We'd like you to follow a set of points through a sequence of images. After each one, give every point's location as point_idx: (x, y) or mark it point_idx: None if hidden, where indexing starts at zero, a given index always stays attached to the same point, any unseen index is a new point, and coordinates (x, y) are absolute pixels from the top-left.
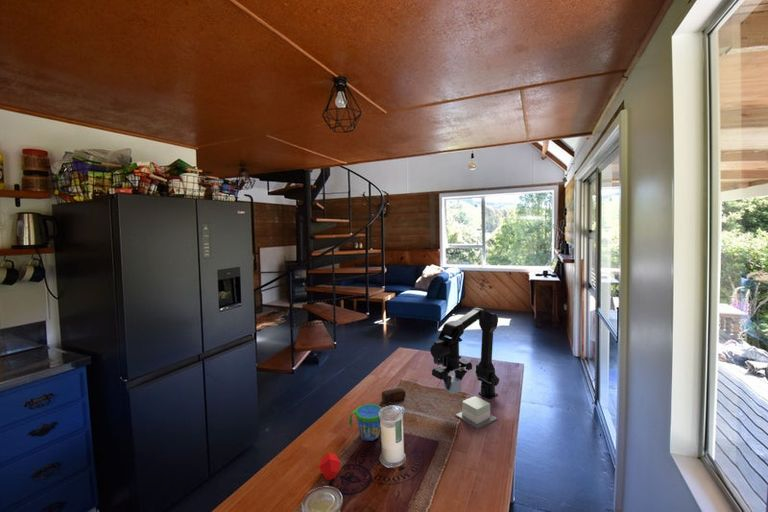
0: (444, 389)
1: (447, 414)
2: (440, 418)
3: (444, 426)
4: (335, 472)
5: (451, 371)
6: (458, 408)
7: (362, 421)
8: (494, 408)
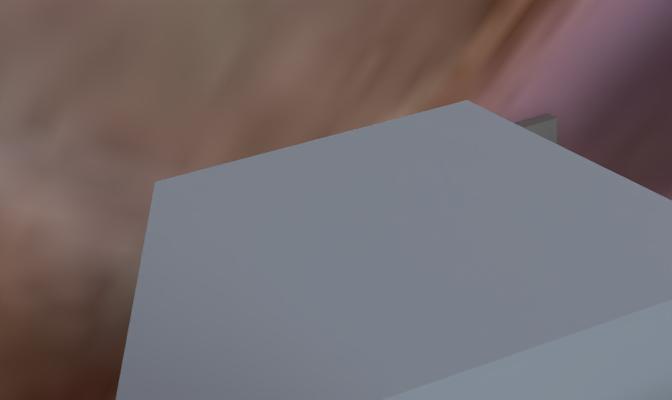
0: (156, 198)
1: (179, 147)
2: (48, 199)
3: (38, 341)
4: None
5: None
6: (380, 72)
7: None
8: (664, 194)
